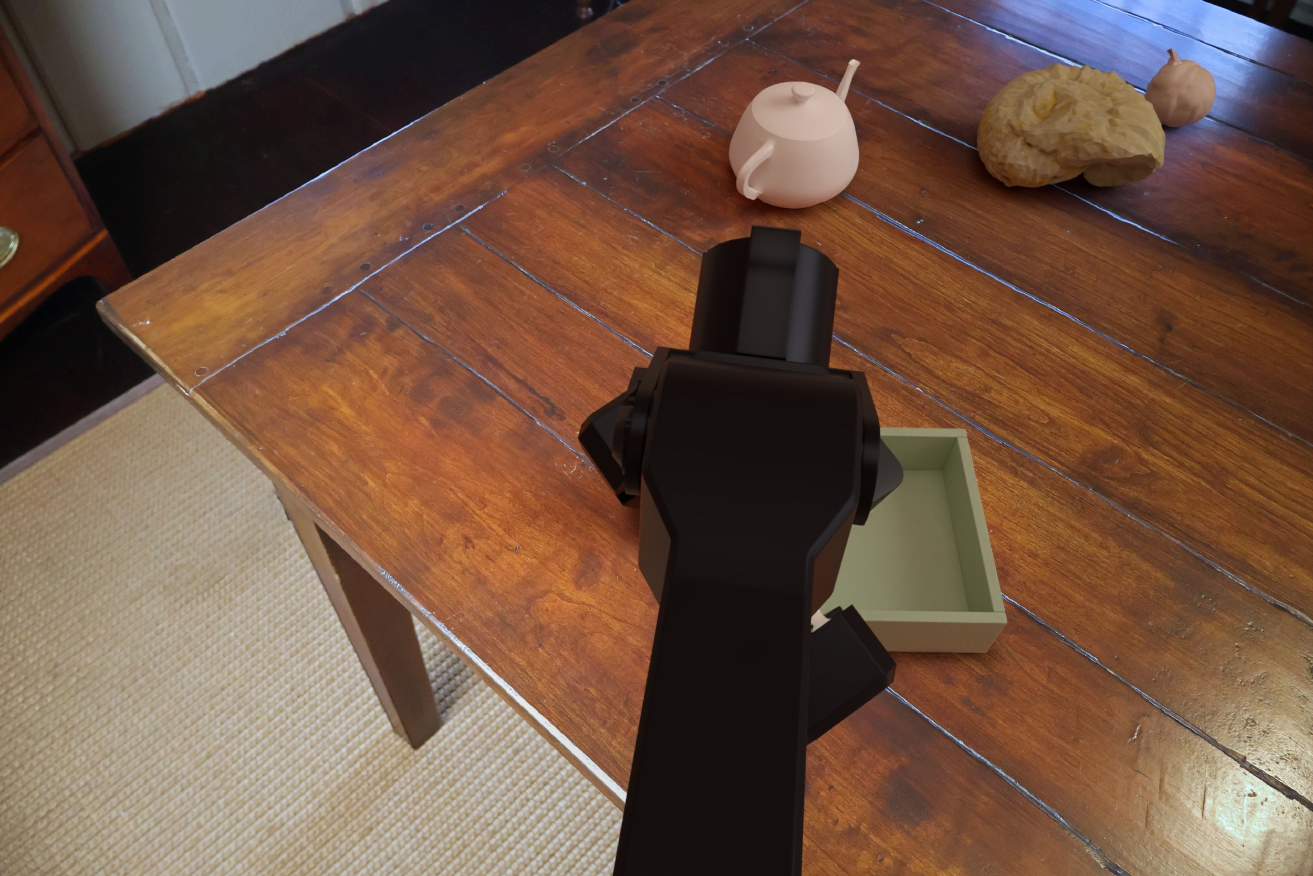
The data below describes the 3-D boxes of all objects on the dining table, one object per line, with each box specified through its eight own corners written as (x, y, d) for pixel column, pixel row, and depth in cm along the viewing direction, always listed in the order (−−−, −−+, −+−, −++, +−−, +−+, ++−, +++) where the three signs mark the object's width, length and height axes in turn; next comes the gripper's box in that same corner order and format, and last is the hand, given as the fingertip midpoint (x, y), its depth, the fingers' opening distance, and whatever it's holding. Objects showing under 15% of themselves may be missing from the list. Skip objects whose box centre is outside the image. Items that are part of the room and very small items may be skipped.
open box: (986, 653, 66) (1008, 623, 62) (788, 649, 66) (797, 619, 62) (948, 464, 75) (965, 428, 71) (774, 461, 75) (782, 424, 71)
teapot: (794, 103, 102) (808, 13, 93) (897, 150, 97) (921, 59, 89) (681, 202, 92) (685, 112, 84) (790, 259, 88) (805, 169, 80)
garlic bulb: (1153, 94, 104) (1187, 25, 97) (1209, 120, 101) (1248, 51, 95) (1123, 121, 101) (1156, 51, 94) (1180, 148, 98) (1218, 79, 92)
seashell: (1031, 129, 104) (935, 146, 96) (1084, 33, 96) (983, 43, 89) (1152, 221, 95) (1055, 247, 88) (1220, 123, 88) (1121, 143, 80)
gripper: (1036, 593, 39) (940, 631, 54) (761, 251, 43) (743, 373, 58) (813, 758, 37) (778, 749, 52) (553, 385, 42) (590, 475, 57)
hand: (724, 575), depth 55 cm, fingers open, 9 cm apart
